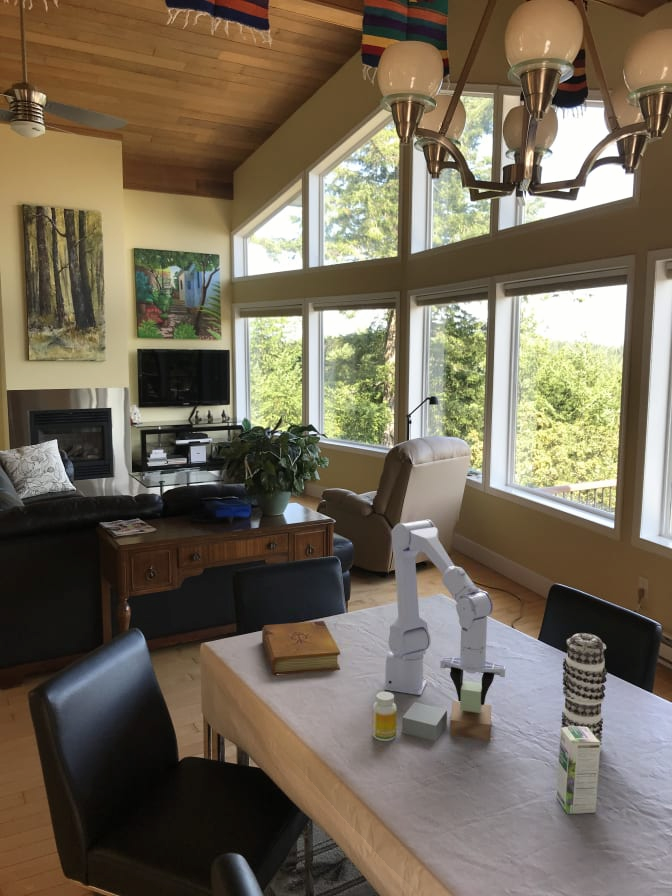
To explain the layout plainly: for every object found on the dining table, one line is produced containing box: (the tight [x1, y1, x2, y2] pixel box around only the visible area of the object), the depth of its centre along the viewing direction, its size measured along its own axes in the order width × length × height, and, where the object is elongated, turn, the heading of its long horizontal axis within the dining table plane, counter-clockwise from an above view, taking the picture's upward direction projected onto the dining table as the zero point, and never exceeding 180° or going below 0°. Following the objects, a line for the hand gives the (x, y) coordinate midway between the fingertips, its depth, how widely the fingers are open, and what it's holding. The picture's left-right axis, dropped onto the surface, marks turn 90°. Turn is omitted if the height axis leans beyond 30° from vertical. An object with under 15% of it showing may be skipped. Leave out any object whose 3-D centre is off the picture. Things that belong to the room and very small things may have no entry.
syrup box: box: [556, 726, 601, 815], centre depth 134 cm, size 6×6×14 cm
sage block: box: [459, 680, 482, 713], centre depth 162 cm, size 4×4×5 cm
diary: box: [261, 620, 341, 676], centre depth 201 cm, size 23×19×6 cm
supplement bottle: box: [371, 691, 398, 742], centre depth 158 cm, size 5×5×10 cm
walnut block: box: [449, 700, 492, 741], centre depth 162 cm, size 9×9×4 cm
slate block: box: [401, 701, 448, 742], centre depth 162 cm, size 8×8×4 cm
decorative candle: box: [560, 632, 608, 753], centre depth 153 cm, size 9×9×25 cm
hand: (471, 701), depth 162 cm, fingers closed on sage block, 4 cm apart
